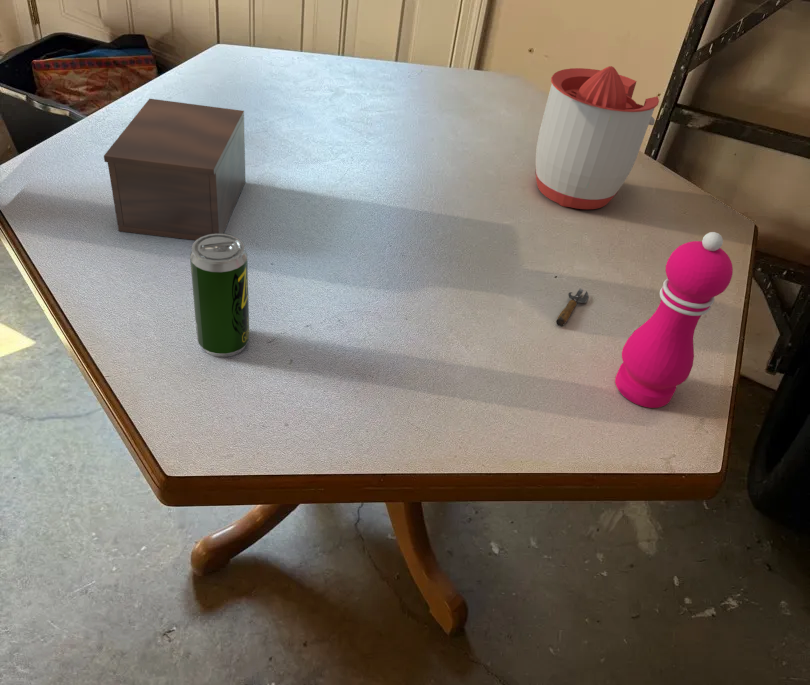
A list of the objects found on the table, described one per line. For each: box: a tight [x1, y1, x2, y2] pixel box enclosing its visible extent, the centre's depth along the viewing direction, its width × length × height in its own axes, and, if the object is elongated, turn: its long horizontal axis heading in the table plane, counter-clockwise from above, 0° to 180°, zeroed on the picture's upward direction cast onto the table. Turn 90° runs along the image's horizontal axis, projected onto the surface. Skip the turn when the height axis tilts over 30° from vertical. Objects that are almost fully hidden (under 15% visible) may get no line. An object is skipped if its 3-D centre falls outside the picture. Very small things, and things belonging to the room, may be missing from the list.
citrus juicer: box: [534, 65, 660, 210], centre depth 106 cm, size 16×17×20 cm
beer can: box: [189, 233, 250, 358], centre depth 71 cm, size 5×5×12 cm
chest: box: [107, 116, 246, 241], centre depth 92 cm, size 17×13×10 cm
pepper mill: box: [614, 231, 734, 409], centre depth 71 cm, size 7×7×20 cm
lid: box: [103, 98, 245, 175], centre depth 88 cm, size 17×13×1 cm
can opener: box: [555, 288, 589, 327], centre depth 87 cm, size 9×2×1 cm, turn 145°
